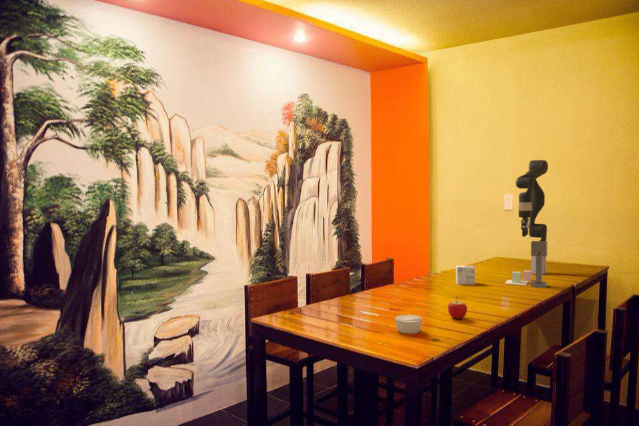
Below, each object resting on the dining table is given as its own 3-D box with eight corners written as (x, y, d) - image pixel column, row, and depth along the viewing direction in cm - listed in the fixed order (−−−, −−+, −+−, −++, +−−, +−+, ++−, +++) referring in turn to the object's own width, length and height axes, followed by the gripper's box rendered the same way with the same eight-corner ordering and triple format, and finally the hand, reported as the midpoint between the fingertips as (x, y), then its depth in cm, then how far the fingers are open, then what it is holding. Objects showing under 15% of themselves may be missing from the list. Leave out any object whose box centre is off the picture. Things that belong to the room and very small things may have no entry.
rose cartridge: (524, 279, 314) (524, 270, 314) (532, 280, 312) (532, 270, 312) (523, 281, 310) (523, 271, 310) (531, 281, 308) (531, 271, 308)
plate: (507, 280, 313) (507, 279, 313) (528, 281, 307) (528, 281, 307) (504, 283, 303) (504, 283, 303) (525, 285, 297) (525, 284, 297)
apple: (463, 315, 231) (463, 294, 230) (469, 320, 222) (469, 298, 222) (445, 316, 230) (445, 294, 230) (451, 321, 222) (451, 298, 221)
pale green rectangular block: (513, 281, 308) (513, 271, 308) (521, 281, 306) (521, 272, 305) (512, 282, 304) (512, 272, 304) (520, 283, 302) (520, 273, 302)
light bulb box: (473, 282, 307) (473, 265, 307) (475, 284, 301) (475, 267, 300) (455, 282, 308) (455, 265, 308) (457, 284, 302) (457, 267, 301)
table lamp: (532, 284, 300) (532, 240, 298) (547, 285, 296) (547, 241, 294) (530, 287, 291) (530, 242, 290) (545, 288, 287) (545, 243, 286)
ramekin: (413, 336, 201) (413, 323, 200) (389, 331, 208) (389, 318, 208) (427, 330, 209) (427, 317, 209) (404, 325, 216) (404, 313, 216)
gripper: (530, 210, 301) (530, 237, 302) (533, 208, 313) (533, 234, 314) (516, 210, 305) (516, 236, 306) (520, 208, 317) (520, 234, 318)
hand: (525, 235), depth 310 cm, fingers open, 8 cm apart
